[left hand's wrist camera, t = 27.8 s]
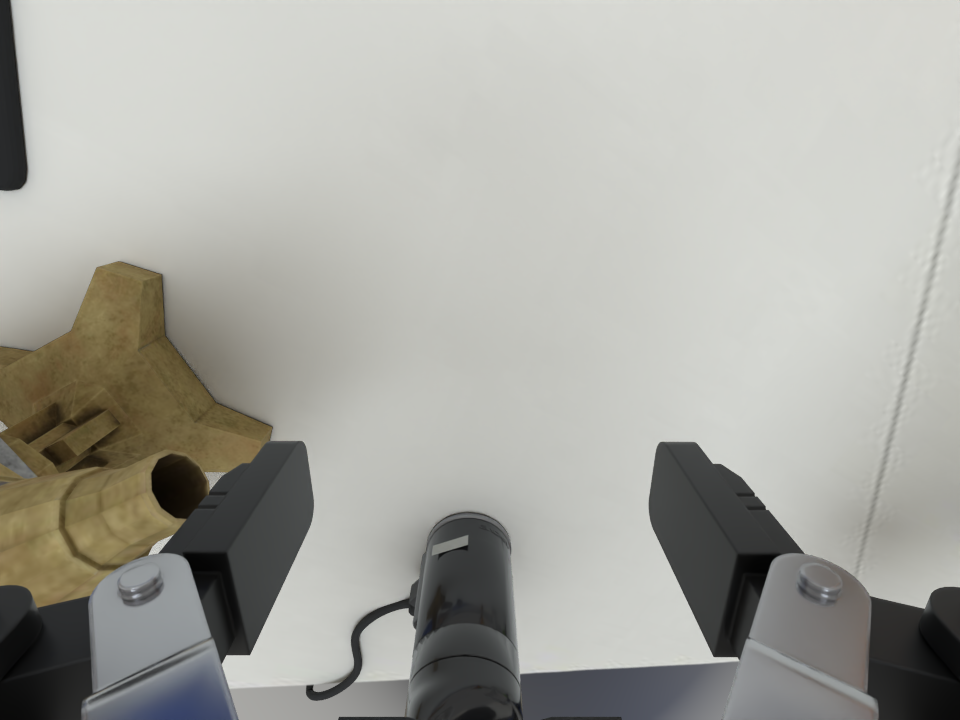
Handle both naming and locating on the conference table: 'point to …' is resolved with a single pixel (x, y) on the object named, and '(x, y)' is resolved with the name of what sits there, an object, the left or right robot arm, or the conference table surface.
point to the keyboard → (9, 110)
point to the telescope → (105, 441)
